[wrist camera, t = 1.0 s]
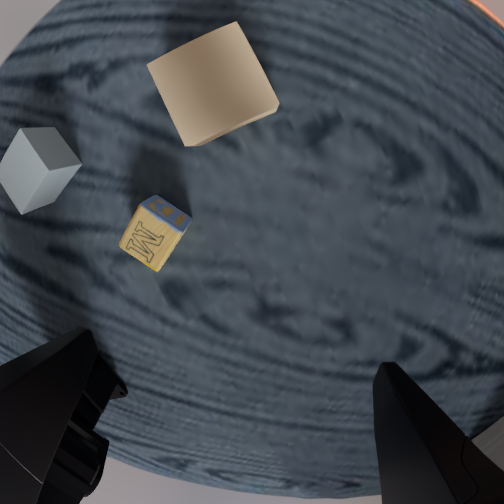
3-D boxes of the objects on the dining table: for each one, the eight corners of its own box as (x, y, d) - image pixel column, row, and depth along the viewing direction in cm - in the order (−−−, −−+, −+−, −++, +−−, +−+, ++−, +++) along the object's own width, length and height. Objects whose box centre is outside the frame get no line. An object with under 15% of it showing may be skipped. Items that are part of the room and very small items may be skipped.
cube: (54, 201, 19) (21, 214, 15) (29, 165, 18) (-6, 173, 14) (82, 164, 18) (49, 170, 14) (55, 127, 17) (20, 128, 13)
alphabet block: (194, 219, 19) (182, 232, 16) (171, 255, 20) (156, 274, 17) (156, 192, 19) (138, 201, 16) (135, 230, 20) (115, 245, 17)
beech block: (200, 145, 18) (185, 146, 14) (168, 78, 16) (146, 64, 13) (275, 112, 17) (279, 103, 13) (241, 44, 15) (236, 21, 12)
